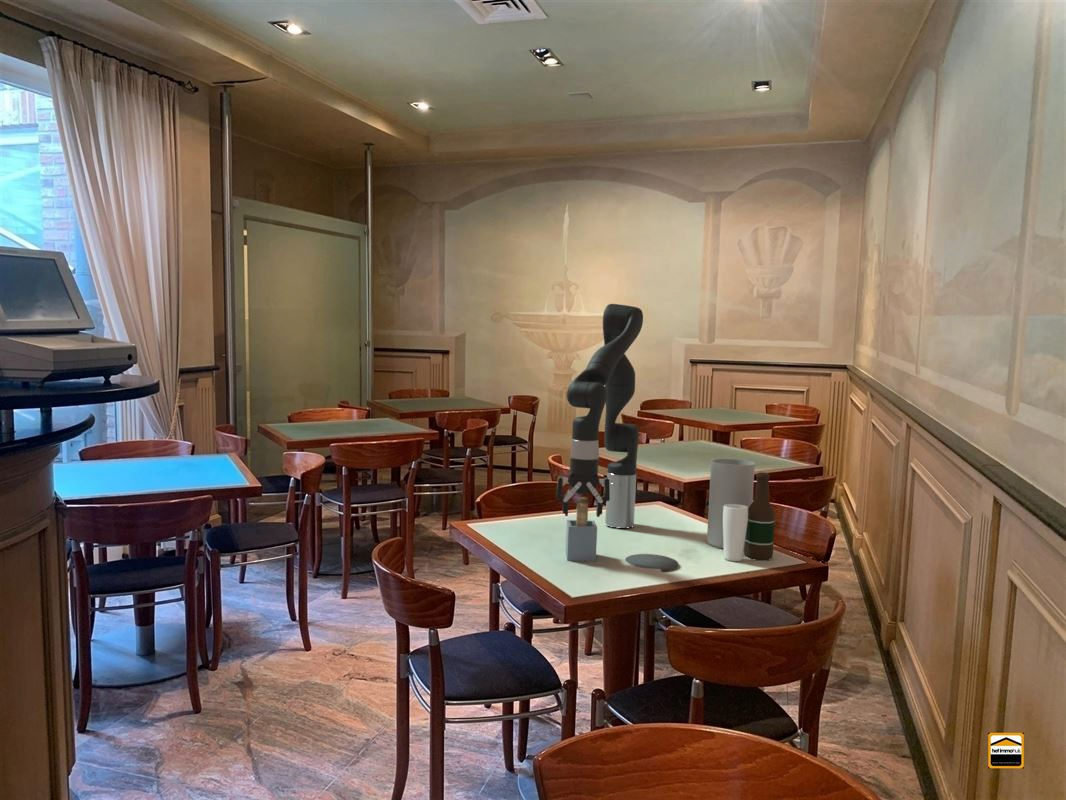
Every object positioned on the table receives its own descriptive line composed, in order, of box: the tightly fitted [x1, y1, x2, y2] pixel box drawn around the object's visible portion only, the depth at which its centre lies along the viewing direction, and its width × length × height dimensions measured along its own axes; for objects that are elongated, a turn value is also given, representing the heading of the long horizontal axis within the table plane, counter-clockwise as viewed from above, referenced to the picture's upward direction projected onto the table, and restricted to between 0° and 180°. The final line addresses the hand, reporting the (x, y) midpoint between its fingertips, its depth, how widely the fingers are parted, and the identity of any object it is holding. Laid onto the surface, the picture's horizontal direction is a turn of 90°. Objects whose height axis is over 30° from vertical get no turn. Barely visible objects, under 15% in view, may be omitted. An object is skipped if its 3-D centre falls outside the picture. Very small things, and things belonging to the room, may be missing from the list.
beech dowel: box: [575, 497, 590, 526], centre depth 210 cm, size 3×3×16 cm
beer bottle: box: [743, 472, 776, 561], centre depth 219 cm, size 8×8×24 cm
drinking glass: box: [723, 504, 748, 562], centre depth 216 cm, size 7×7×15 cm
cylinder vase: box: [706, 458, 755, 550], centre depth 232 cm, size 12×12×25 cm
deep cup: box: [565, 519, 598, 562], centre depth 210 cm, size 8×8×10 cm
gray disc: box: [625, 553, 679, 572], centre depth 209 cm, size 14×14×1 cm
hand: (582, 515), depth 210 cm, fingers open, 8 cm apart
